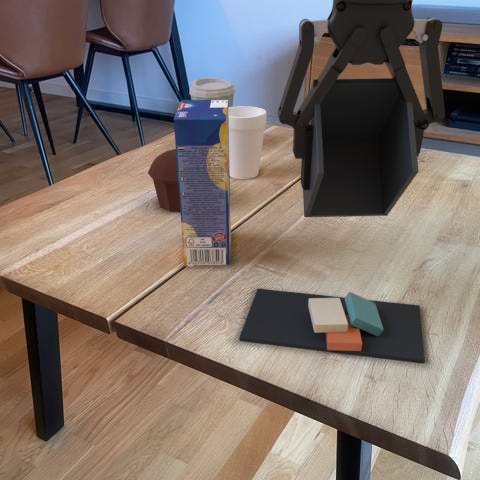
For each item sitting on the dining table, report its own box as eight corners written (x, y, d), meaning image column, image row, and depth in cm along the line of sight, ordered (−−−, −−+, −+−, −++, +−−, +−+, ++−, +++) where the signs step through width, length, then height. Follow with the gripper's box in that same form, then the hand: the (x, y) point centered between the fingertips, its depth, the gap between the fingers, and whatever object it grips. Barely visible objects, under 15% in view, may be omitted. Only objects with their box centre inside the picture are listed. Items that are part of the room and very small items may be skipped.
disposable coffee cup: (245, 146, 135) (245, 80, 127) (213, 157, 129) (211, 88, 120) (214, 138, 141) (212, 74, 133) (183, 147, 135) (178, 81, 126)
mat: (418, 310, 74) (419, 305, 74) (423, 365, 65) (424, 359, 64) (257, 293, 78) (257, 288, 78) (239, 342, 68) (239, 337, 68)
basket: (300, 137, 70) (313, 79, 58) (381, 136, 70) (410, 77, 58) (304, 217, 68) (318, 173, 56) (387, 215, 68) (418, 171, 56)
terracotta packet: (328, 342, 65) (327, 350, 66) (362, 343, 65) (361, 351, 66) (324, 314, 70) (323, 322, 71) (356, 314, 70) (355, 322, 70)
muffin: (153, 218, 100) (147, 163, 94) (148, 196, 109) (143, 144, 103) (218, 212, 102) (216, 158, 96) (208, 191, 111) (206, 140, 105)
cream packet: (314, 324, 66) (314, 332, 67) (348, 324, 66) (347, 332, 67) (308, 298, 71) (308, 306, 72) (339, 297, 71) (338, 305, 72)
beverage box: (230, 236, 93) (228, 99, 81) (229, 268, 84) (226, 119, 72) (190, 236, 93) (181, 99, 81) (184, 268, 84) (173, 119, 72)
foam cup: (231, 185, 113) (230, 120, 106) (214, 171, 120) (212, 109, 113) (272, 178, 116) (274, 114, 109) (254, 165, 123) (254, 104, 116)
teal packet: (356, 317, 66) (350, 324, 67) (384, 330, 67) (378, 337, 68) (349, 291, 71) (344, 298, 72) (375, 303, 72) (370, 310, 73)
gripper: (484, -48, 55) (440, 172, 67) (253, -46, 54) (252, 175, 67) (517, -47, 48) (462, 195, 61) (256, -44, 48) (254, 198, 60)
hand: (352, 185), depth 64 cm, fingers closed on basket, 10 cm apart
